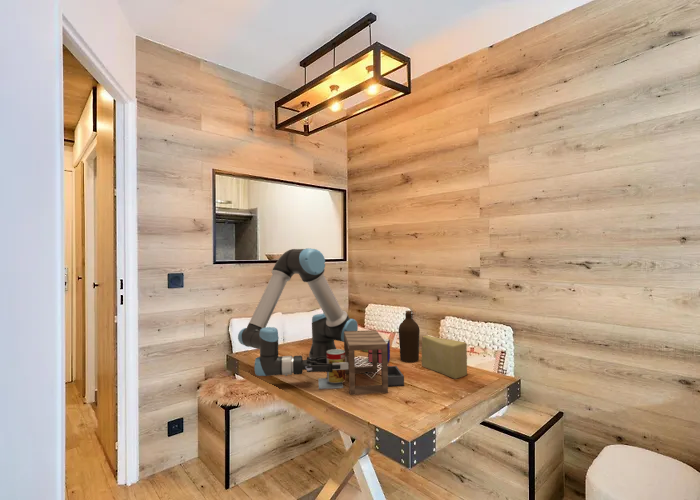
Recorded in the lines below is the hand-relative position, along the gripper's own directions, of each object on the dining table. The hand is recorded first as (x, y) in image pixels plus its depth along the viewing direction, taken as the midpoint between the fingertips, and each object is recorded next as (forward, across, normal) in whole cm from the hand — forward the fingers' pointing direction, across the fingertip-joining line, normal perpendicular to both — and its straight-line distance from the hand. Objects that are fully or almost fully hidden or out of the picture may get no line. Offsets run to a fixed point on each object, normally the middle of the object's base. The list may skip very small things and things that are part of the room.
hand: (347, 362), depth 158 cm
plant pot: (+16, -51, -9) cm, 54 cm away
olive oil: (+35, -29, -9) cm, 46 cm away
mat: (-7, 0, -8) cm, 11 cm away
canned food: (-5, 0, -7) cm, 9 cm away
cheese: (+44, -9, -9) cm, 46 cm away
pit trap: (+19, 0, -8) cm, 21 cm away
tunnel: (+7, 0, -8) cm, 11 cm away
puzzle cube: (+19, -30, -9) cm, 37 cm away
